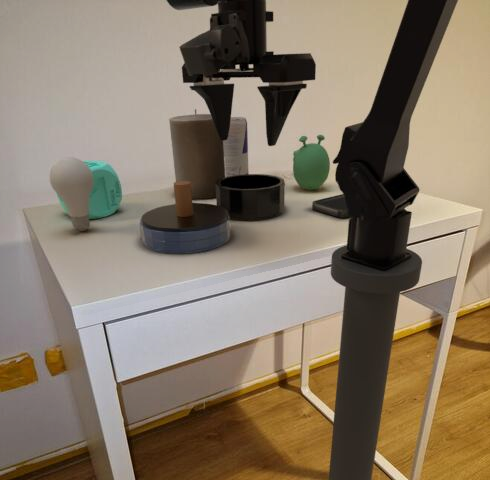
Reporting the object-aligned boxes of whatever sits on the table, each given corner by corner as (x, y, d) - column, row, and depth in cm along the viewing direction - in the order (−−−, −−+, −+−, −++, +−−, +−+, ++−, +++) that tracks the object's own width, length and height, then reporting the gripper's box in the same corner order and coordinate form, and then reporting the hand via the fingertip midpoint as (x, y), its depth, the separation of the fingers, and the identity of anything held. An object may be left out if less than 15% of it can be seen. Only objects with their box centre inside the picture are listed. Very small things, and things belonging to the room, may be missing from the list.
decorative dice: (85, 222, 77) (74, 172, 72) (60, 214, 81) (49, 166, 77) (125, 211, 82) (118, 164, 78) (100, 204, 86) (92, 158, 82)
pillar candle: (235, 193, 90) (232, 108, 82) (191, 202, 85) (183, 113, 78) (210, 184, 97) (204, 105, 89) (167, 192, 92) (158, 109, 85)
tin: (297, 209, 79) (298, 180, 77) (249, 225, 73) (249, 193, 70) (251, 198, 87) (250, 171, 84) (203, 211, 80) (201, 182, 78)
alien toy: (311, 182, 96) (313, 130, 91) (335, 190, 90) (339, 134, 85) (283, 187, 93) (283, 134, 88) (307, 195, 87) (309, 138, 82)
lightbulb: (64, 239, 69) (46, 163, 64) (60, 228, 74) (43, 156, 69) (105, 233, 71) (91, 158, 66) (99, 222, 76) (86, 152, 71)
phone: (309, 201, 79) (370, 187, 86) (309, 208, 79) (369, 193, 87) (343, 212, 73) (405, 195, 81) (342, 219, 74) (404, 202, 81)
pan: (248, 236, 68) (247, 216, 67) (177, 261, 61) (175, 239, 59) (194, 219, 76) (192, 201, 75) (126, 239, 69) (122, 219, 67)
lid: (246, 220, 67) (245, 181, 64) (176, 243, 60) (171, 199, 57) (193, 205, 75) (190, 169, 72) (125, 223, 68) (119, 184, 65)
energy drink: (251, 176, 103) (250, 117, 97) (243, 181, 98) (241, 120, 92) (229, 175, 104) (226, 116, 98) (220, 180, 100) (216, 119, 94)
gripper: (140, 8, 56) (157, 145, 64) (248, -12, 44) (253, 159, 52) (210, 11, 63) (218, 135, 71) (321, -6, 51) (315, 145, 59)
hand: (246, 142), depth 63 cm, fingers open, 9 cm apart
